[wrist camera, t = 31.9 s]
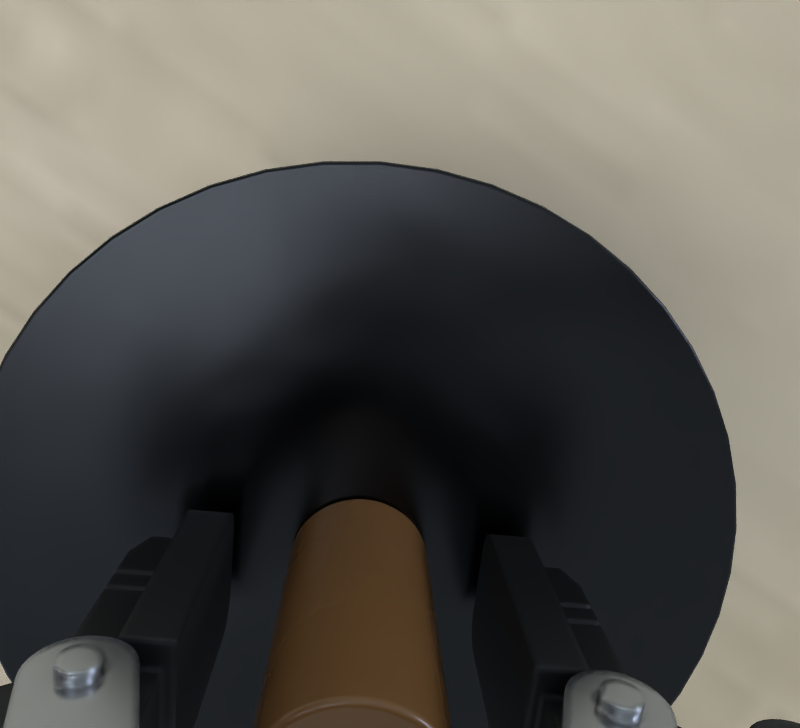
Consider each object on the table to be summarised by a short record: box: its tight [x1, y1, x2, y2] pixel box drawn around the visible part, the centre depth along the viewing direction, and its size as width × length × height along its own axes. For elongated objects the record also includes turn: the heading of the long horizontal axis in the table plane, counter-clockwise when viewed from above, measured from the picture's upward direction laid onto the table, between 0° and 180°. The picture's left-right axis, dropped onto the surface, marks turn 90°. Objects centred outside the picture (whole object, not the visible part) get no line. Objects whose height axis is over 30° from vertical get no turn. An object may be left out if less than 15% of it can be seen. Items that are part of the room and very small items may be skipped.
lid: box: [0, 161, 736, 728], centre depth 11 cm, size 14×14×6 cm
